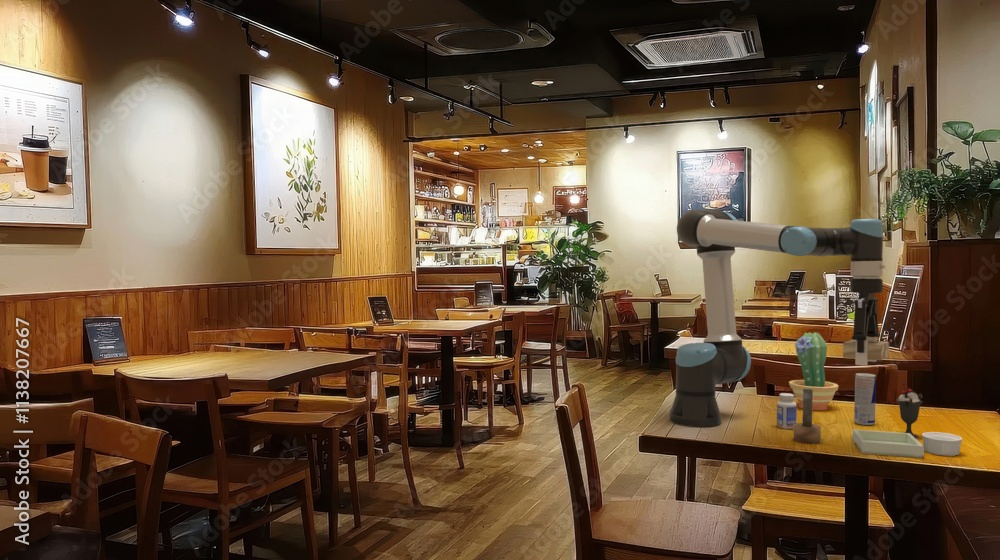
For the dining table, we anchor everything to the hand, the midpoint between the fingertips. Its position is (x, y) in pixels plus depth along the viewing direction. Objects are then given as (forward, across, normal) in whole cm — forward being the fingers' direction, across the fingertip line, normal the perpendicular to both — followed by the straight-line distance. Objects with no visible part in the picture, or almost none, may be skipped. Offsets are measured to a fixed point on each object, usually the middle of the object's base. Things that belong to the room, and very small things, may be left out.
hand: (866, 363), depth 193 cm
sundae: (+22, +21, -6) cm, 31 cm away
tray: (+22, +2, -5) cm, 23 cm away
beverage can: (+22, +29, +7) cm, 37 cm away
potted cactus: (+22, +44, +26) cm, 56 cm away
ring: (-2, 0, 0) cm, 2 cm away
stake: (+22, -3, +14) cm, 26 cm away
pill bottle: (+22, +9, +24) cm, 34 cm away
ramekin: (+23, +8, -16) cm, 29 cm away
